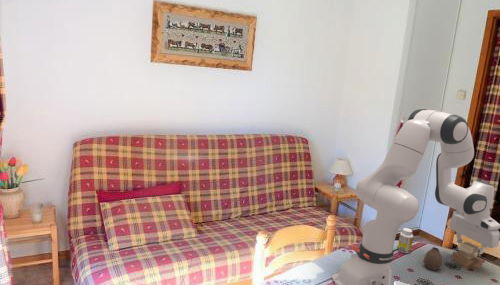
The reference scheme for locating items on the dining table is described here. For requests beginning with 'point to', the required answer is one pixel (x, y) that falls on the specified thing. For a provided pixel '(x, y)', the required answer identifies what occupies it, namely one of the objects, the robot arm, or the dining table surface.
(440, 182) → the robot arm
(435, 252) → the vase
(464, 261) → the walnut block
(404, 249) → the supplement bottle
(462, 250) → the maple cube
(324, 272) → the dining table surface
